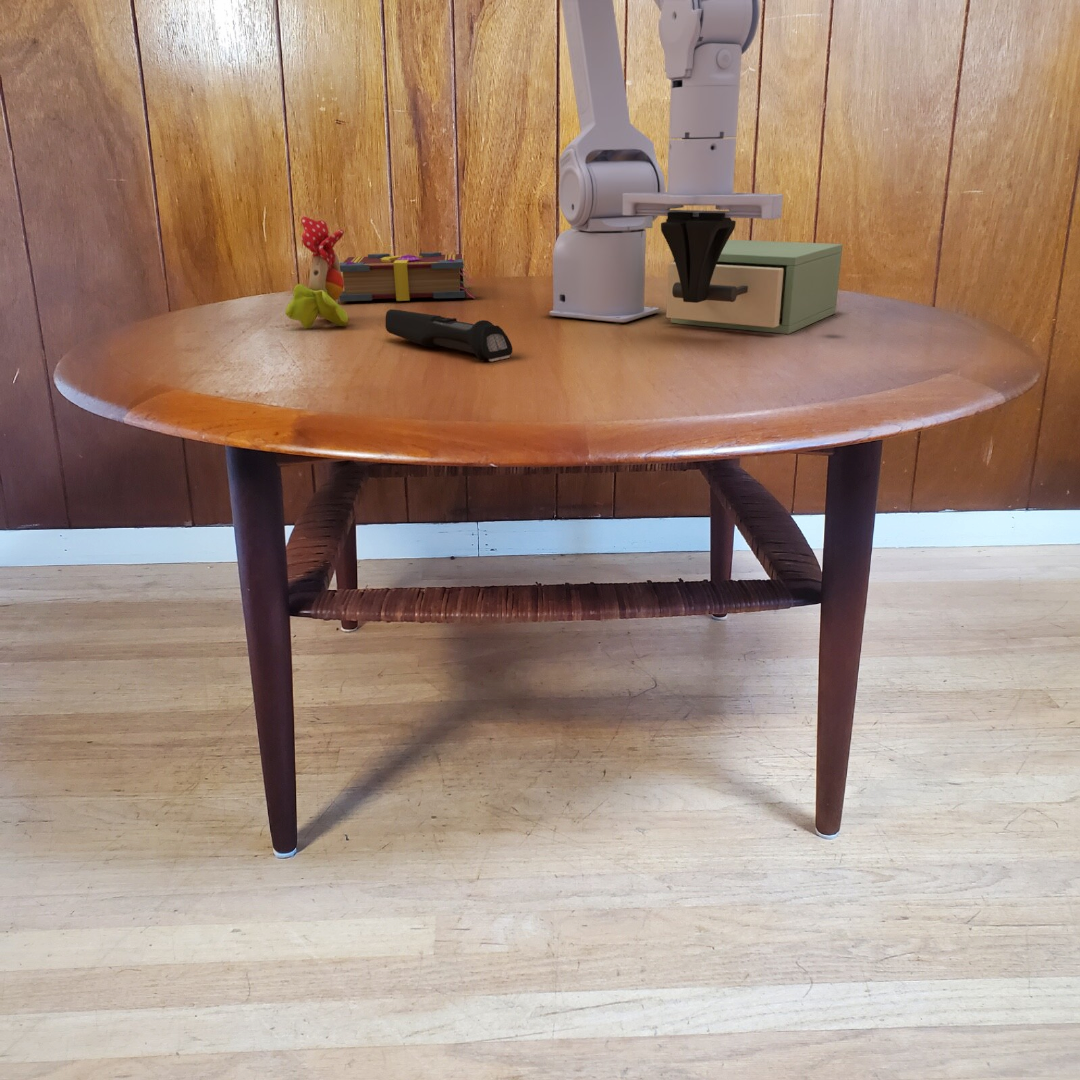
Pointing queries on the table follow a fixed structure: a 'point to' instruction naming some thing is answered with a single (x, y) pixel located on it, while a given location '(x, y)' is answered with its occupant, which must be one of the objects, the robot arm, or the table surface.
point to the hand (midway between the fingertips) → (694, 301)
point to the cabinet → (790, 280)
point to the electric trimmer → (450, 334)
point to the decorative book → (403, 277)
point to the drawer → (733, 295)
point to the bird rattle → (319, 278)
